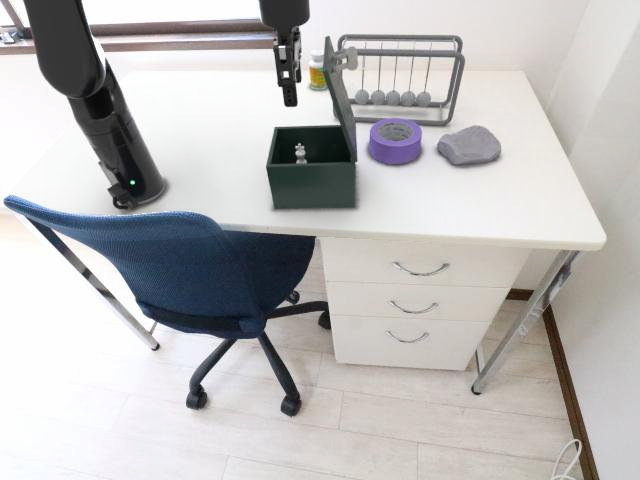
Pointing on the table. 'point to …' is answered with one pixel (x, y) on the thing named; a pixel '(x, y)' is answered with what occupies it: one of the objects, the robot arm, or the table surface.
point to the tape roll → (395, 150)
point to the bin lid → (341, 91)
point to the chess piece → (300, 154)
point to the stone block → (470, 146)
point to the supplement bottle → (317, 70)
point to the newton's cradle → (408, 96)
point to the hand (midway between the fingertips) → (293, 93)
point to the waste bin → (311, 168)
